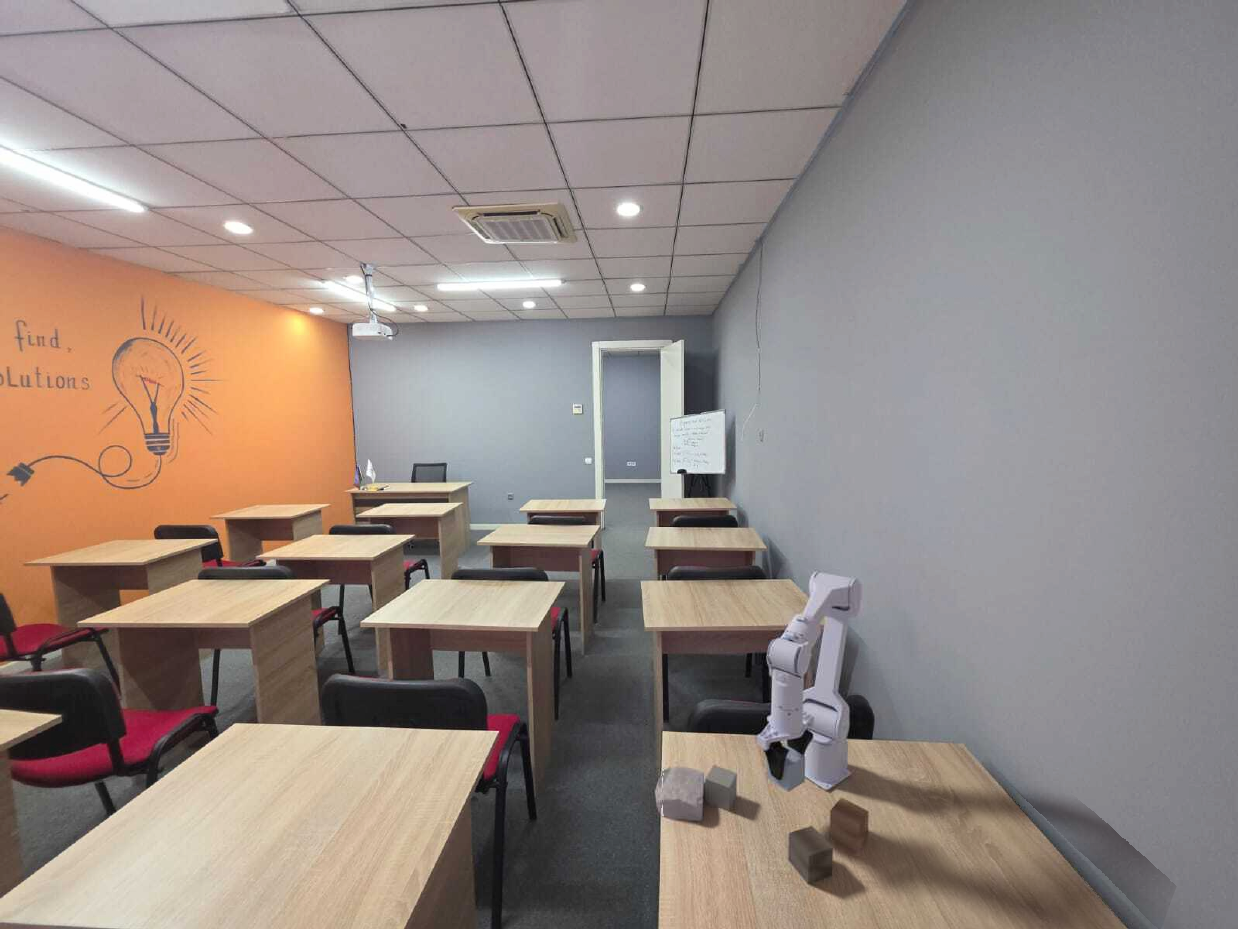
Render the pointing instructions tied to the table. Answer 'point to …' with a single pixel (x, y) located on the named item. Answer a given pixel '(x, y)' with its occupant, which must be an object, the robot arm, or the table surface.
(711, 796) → the grey cube
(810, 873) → the ebony cube
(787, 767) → the slate blue cube
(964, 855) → the table surface
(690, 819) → the stone block
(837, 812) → the walnut cube
